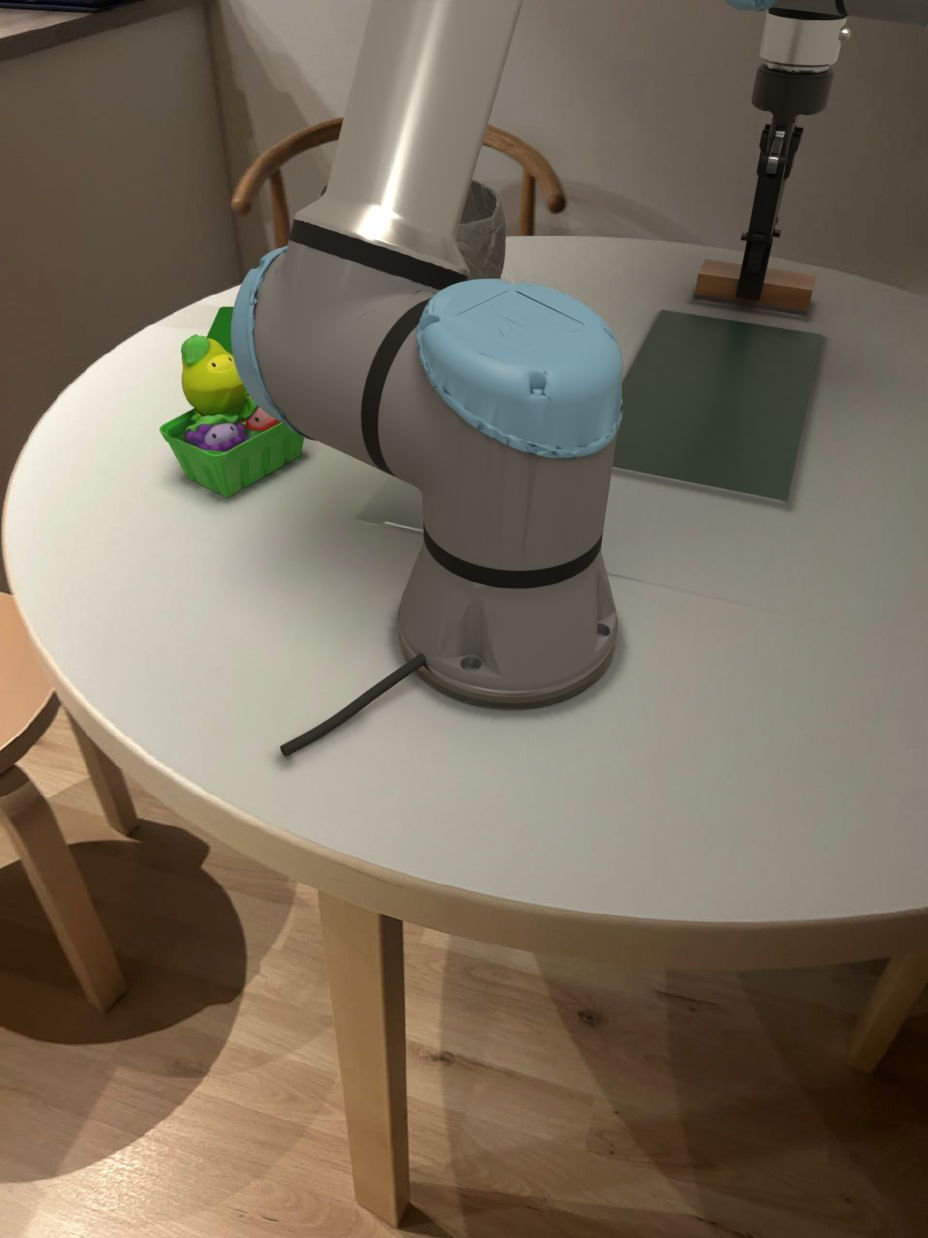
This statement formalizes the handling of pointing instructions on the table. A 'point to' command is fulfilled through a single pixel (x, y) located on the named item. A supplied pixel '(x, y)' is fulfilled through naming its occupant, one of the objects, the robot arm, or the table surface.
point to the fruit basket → (224, 424)
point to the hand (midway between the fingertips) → (748, 296)
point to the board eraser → (777, 293)
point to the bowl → (479, 232)
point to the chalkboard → (717, 403)
